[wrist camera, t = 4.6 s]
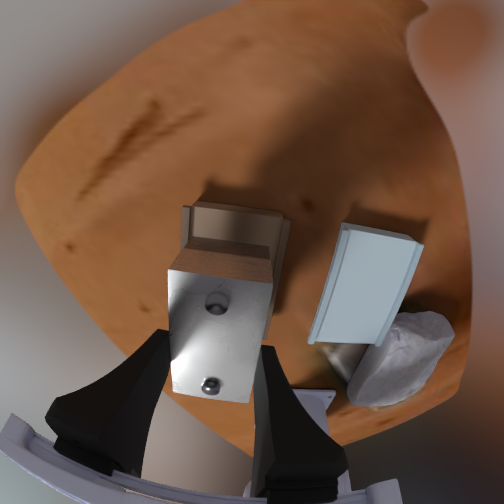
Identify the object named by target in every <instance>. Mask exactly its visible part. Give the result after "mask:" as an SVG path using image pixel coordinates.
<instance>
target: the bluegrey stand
mask: <svg viewBox="0 0 504 504" xmlns="http://www.w3.org/2000/svg"><path fill="white" fill-rule="evenodd" d="M423 247H424V245H423V244H422V243H418V242H416V241H415V240H414V239H412V238H411V237H410V236H409V235H406V234H401V233H396V232H391V231H386V230H381V229H376V228H371V227H366V226H361V225H355V224H350V223H344V222H342V224H341V228H340V232H339V236H338V240H337V244H336V247H335V251H334V255H333V259H332V262H331V266H330V269H329V273H328V276H327V280H326V283H325V286H324V290H323V293H322V296H321V299H320V303H319V306H318V309H317V312H316V315H315V318H314V321H313V324H312V327H311V331H310V334H309V337H308V340H307V342H308V344H314V342H315V341H320V342H339V343H368V344H375V346H376V347H380V346H381V344H382V342H383V340H384V338H385V336H386V334H387V332H388V330H389V328H390V326H391V324H392V322H393V320H394V318H395V316H396V314H397V312H398V310H399V307H400V305H401V303H402V301H403V298H404V296H405V294H406V292H407V289H408V287H409V284H410V282H411V279H412V277H413V274H414V272H415V269H416V267H417V264H418V261H419V258H420V256H421V253H422V250H423Z"/></svg>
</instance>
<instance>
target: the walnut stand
mask: <svg viewBox="0 0 504 504" xmlns="http://www.w3.org/2000/svg"><path fill="white" fill-rule="evenodd" d="M290 226H291V220H290V219H284V218H283V216H282V212H278V211H271V210H264V209H257V208H250V207H242V206H235V205H227V204H219V203H211V202H202V201H196V202H195V203H194V204H193V205H192V206H185V205H184V206H183V207H182V223H181V250H182V249H183V248H184V246H185V245H186V243H187V242H188V241H189V239H190V238H191V237H192V236H196V237H204V238H211V239H219V240H226V241H234V242H241V243H249V244H256V245H264V246H269V251H270V260H271V268H272V276H273V289H272V294H271V299H270V304H269V309H268V314H267V319H266V324H265V329H264V334H263V338H262V340H266V339H267V334H268V330H269V326H270V321H271V317H272V312H273V308H274V303H275V299H276V294H277V290H278V285H279V280H280V276H281V271H282V266H283V261H284V256H285V251H286V246H287V241H288V236H289V231H290ZM180 252H181V251H180Z"/></svg>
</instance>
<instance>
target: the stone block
mask: <svg viewBox="0 0 504 504" xmlns="http://www.w3.org/2000/svg"><path fill="white" fill-rule="evenodd" d="M454 336H455V334H454V331H453V329H452V326H451V325H450V323H449V322H448V320H447V319H446V318H445V317H444V316H443V315H441V314H438V313H435V312H432V311H426V312H418V313H415V314H414V313H406V312H402V313H397V314H396V316H395V318H394V320H393V322H392V324H391V326H390V328H389V330H388V332H387V334H386V336H385V338H384V340H383V342H382V344H381V346H380V347H376V346H375V344H369V346H368V348H367V350H366V352H365V354H364V356H363V358H362V359H361V361H360V363H359V366H358V367H357V369H356V370H355V372H354V374H353V376H352V377H351V379H350V381H349V383H348V386H347V395H348V398H349V400H350V403H351V405H357V406H384V405H392V404H395V403H397V402H399V401H401V400H405V399H406V398H407V397H409V396H411V395H413V394H414V393H415V392H417V391H418V390H419V389H420V388H421V386H422V384H423V383H424V382H425V381H426V380H427V379H428V378H429V376H430V375H431V373H432V372H433V370H434V368H435V366H436V363H437V361H438V360H439V358H440V357H441V356H442V354H443V353H444V351H445V349H446V348H447V347H448V346H449V344H450V343H451V341H452V340H453V337H454Z"/></svg>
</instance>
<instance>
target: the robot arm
mask: <svg viewBox="0 0 504 504" xmlns="http://www.w3.org/2000/svg"><path fill="white" fill-rule="evenodd" d="M170 364H171V353H170V334H169V331H167V330H162V329H157V330H156V331H155V332H154V333H153V334H152V335H151V336H150V337H149V339H148V340H147V341H146V342H145V343H144V344H143V345H142V346H141V347H140V348H138V349H137V350H136V351H135V352H134V353H133V354H132V355H131V356H130V357H129V358H128V359H126V360H125V361H124V362H123V363H122V364H120V365H119V366H118V367H117V368H115V369H114V370H112V371H111V372H110V373H108V374H107V375H105V376H104V377H102V378H100V379H99V380H97V381H95V382H94V383H92V384H90V385H88V386H86V387H83V388H81V389H79V390H77V391H75V392H72V393H69V394H66V395H63V396H61V397H57V398H56V399H55V400H54V402H53V403H52V405H51V407H50V409H49V410H48V412H47V414H46V416H45V419H46V422H47V424H48V425H49V426H50V428H51V429H52V430H53V431H54V432H55V433H56V435H58V438H57V440H56V442H55V443H54V442H52V441H50V440H48V439H47V438H45V437H43V436H41V435H40V434H38V433H36V432H35V431H34V429H33V428H32V427H31V426H30V425H29V424H28V423H26V422H25V421H23V420H22V419H20V418H19V417H17V416H16V415H14V414H13V413H12V414H11V415H10V417H9V419H8V420H7V422H6V424H5V426H4V427H3V429H2V431H1V433H0V451H1V452H2V453H3V454H4V455H6V456H7V457H8V458H9V459H11V460H12V461H13V462H14V463H16V464H17V465H18V466H19V467H21V468H22V469H24V470H25V471H27V472H28V473H30V474H31V475H33V476H34V477H36V478H37V479H39V480H40V481H42V482H43V483H45V484H47V485H48V486H50V487H52V488H53V489H55V490H57V491H59V492H60V493H62V494H64V495H66V496H68V497H70V498H72V499H74V500H75V501H77V502H80V503H82V504H175V503H170V502H166V501H162V500H157V499H154V498H150V497H147V496H143V495H139V494H136V493H130V492H126V490H125V489H124V488H126V489H129V490H133V491H136V492H139V493H143V494H146V495H149V496H153V497H157V498H161V499H165V500H169V501H174V502H178V503H183V504H403V503H402V498H401V494H400V489H399V485H398V481H397V479H392V480H388V481H384V482H379V483H376V484H373V485H371V486H369V487H368V488H366V489H364V490H358V491H353V492H351V486H350V479H349V474H348V467H349V465H348V460H347V456H346V453H345V451H344V448H342V447H341V446H340V445H339V444H337V443H336V442H335V441H334V440H333V439H332V438H331V437H330V434H329V428H328V422H327V416H326V410H327V408H328V407H329V405H330V403H331V402H332V400H333V398H334V397H335V395H336V391H335V390H307V389H292V388H291V386H290V384H289V382H288V380H287V378H286V376H285V374H284V372H283V369H282V367H281V365H280V362H279V359H278V357H277V354H276V350H275V348H274V346H268V345H261V347H260V351H259V356H258V361H257V365H256V370H255V375H254V411H255V443H254V457H253V469H252V479H251V481H250V482H249V484H248V485H247V486H246V488H245V491H244V495H243V497H238V496H227V495H218V494H210V493H203V492H197V491H191V490H186V489H181V488H176V487H171V486H167V485H163V484H159V483H155V482H151V481H147V480H144V479H141V471H142V465H143V457H144V452H145V446H146V441H147V436H148V432H149V428H150V424H151V420H152V416H153V413H154V409H155V407H156V404H157V402H158V399H159V396H160V394H161V391H162V389H163V386H164V384H165V381H166V379H167V376H168V372H169V368H170ZM117 485H118V486H117ZM120 486H121V487H120ZM122 487H123V488H122Z"/></svg>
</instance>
